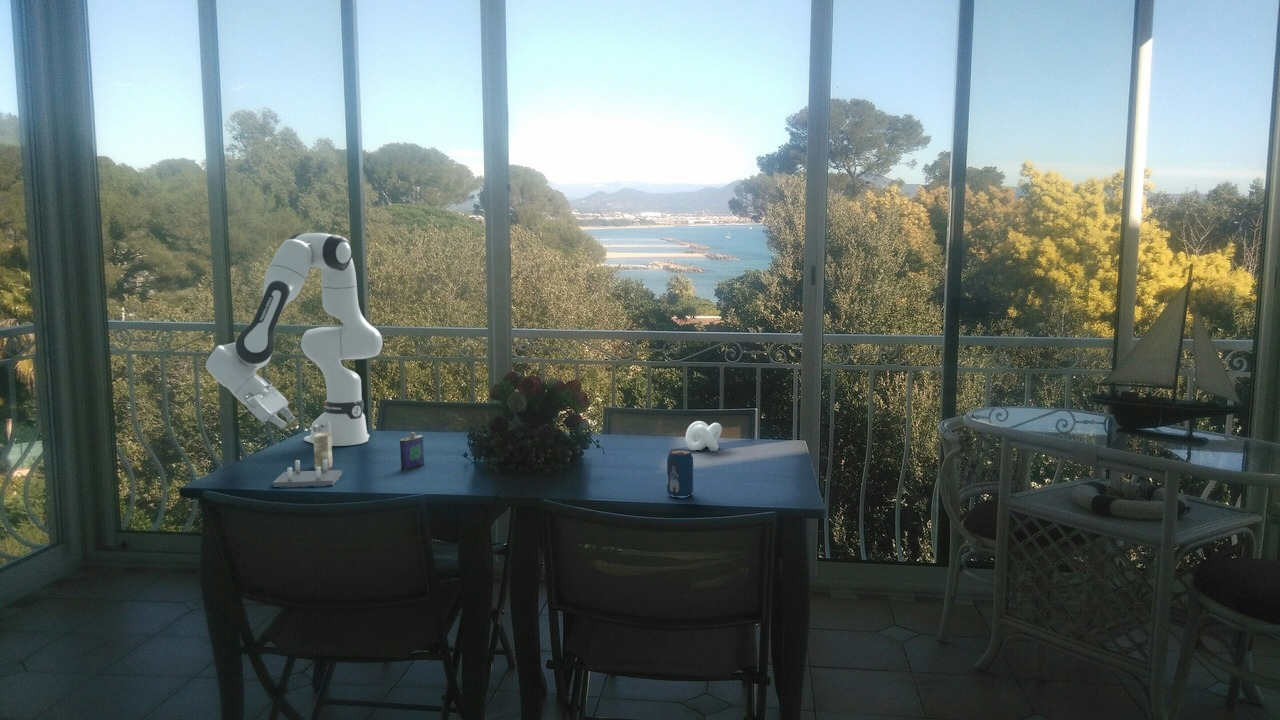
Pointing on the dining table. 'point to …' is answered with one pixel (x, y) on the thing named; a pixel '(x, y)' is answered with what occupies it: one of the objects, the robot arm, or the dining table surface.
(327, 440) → the birch block
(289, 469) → the chassis plate
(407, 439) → the flask
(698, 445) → the white knot sculpture
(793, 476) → the dining table surface
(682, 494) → the soda can
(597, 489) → the dining table surface
